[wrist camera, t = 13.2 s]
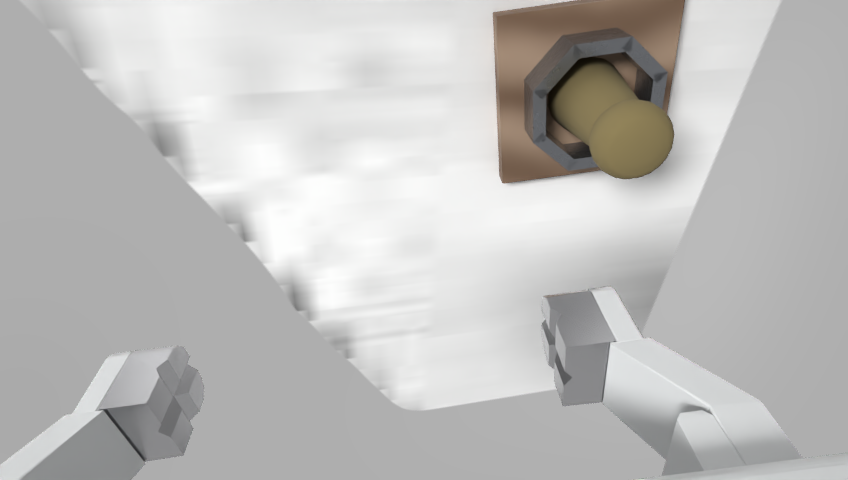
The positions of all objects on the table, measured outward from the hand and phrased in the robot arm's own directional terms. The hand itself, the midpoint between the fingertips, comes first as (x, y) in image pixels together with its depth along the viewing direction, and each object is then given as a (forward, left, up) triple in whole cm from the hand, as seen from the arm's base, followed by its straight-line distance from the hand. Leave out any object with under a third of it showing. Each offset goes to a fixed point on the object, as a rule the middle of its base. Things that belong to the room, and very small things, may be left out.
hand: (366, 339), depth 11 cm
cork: (+7, +16, -31) cm, 36 cm away
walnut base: (+7, +16, -33) cm, 37 cm away
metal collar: (+7, +16, -31) cm, 36 cm away
